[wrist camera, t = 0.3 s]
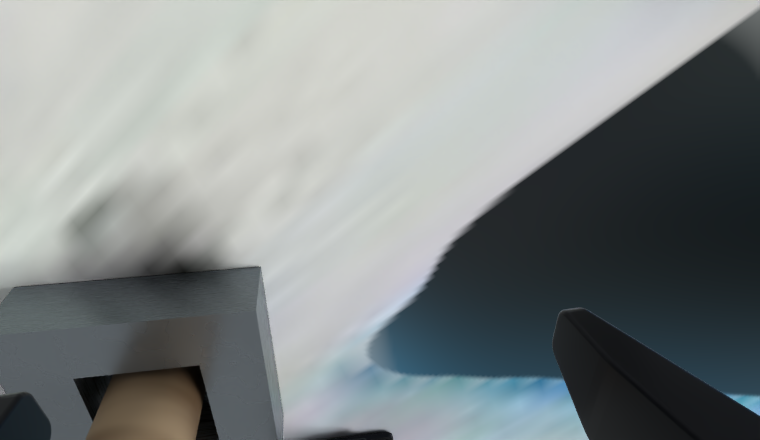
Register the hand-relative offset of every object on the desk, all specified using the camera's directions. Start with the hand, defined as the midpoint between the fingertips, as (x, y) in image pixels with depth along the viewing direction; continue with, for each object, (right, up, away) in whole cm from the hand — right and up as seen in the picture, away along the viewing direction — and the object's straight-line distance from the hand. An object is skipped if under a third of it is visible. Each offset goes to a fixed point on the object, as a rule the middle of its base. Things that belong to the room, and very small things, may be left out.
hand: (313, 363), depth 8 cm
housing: (-11, -6, +19) cm, 23 cm away
